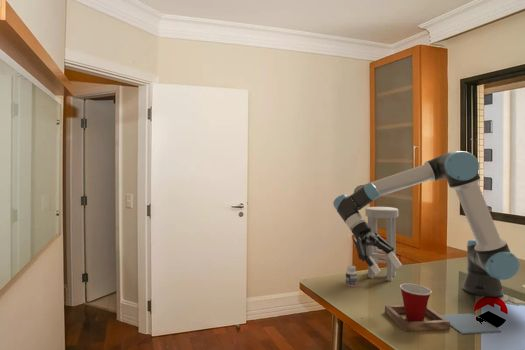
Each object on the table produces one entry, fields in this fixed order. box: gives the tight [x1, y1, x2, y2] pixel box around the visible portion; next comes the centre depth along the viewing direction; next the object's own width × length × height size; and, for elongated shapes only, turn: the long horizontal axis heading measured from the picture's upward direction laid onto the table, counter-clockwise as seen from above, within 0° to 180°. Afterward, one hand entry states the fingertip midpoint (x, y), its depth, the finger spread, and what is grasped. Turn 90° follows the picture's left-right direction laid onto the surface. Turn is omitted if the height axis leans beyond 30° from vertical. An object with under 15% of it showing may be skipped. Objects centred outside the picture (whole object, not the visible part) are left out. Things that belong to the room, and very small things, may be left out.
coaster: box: [440, 312, 502, 335], centre depth 124 cm, size 14×14×1 cm
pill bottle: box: [345, 265, 358, 288], centre depth 166 cm, size 5×5×9 cm
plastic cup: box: [399, 283, 433, 322], centre depth 127 cm, size 11×11×12 cm
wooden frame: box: [384, 304, 451, 332], centre depth 127 cm, size 16×16×2 cm
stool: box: [364, 206, 399, 282], centre depth 179 cm, size 16×16×35 cm
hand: (389, 269), depth 136 cm, fingers open, 13 cm apart
